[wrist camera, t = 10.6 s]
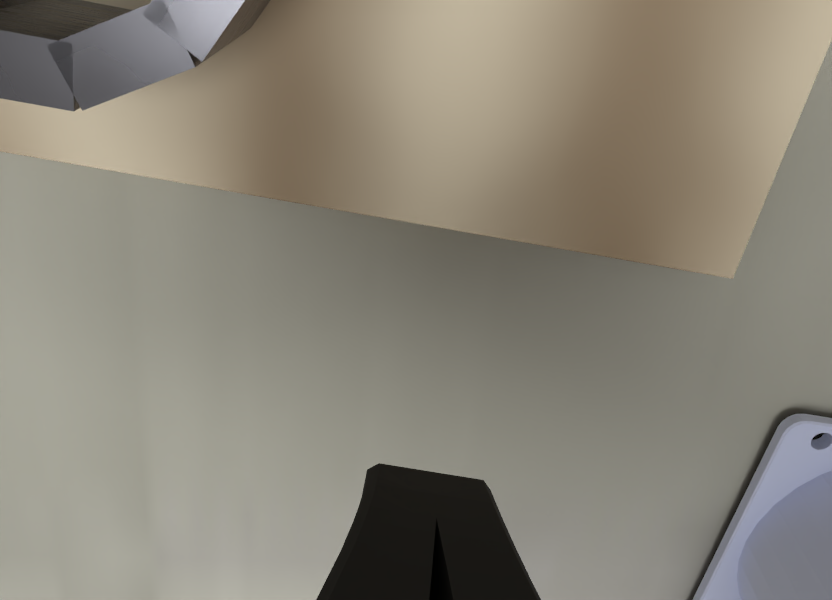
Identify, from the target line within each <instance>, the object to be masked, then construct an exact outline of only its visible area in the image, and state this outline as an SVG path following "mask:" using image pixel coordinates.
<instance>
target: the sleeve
mask: <svg viewBox="0 0 832 600" xmlns="http://www.w3.org/2000/svg"><path fill="white" fill-rule="evenodd" d="M270 1H271V0H152V1H151V3H150V4H147V5H145V6H142V7H140V8H137V9H135V10H130V9H125V8H120V7H114V6H109V5H104V4H99V3H93V2H88V1H83V0H0V98H1V99H7V100H12V101H18V102H23V103H29V104H35V105H40V106H46V107H51V108H57V109H63V110H68V111H76V110H77V109H79V108H81V109H82V111H83V110H86V109H88V108H91V107H94V106H96V105H99V104H101V103H104V102H107V101H109V100H112V99H114V98H117V97H119V96H122V95H125V94H127V93H130V92H132V91H135V90H138V89H140V88H143V87H145V86H148V85H151V84H153V83H156V82H158V81H161V80H164V79H166V78H169V77H171V76H174V75H176V74H179V73H182V72H184V71H187V70H189V69H192V68H195V67H196V66H198V65H199V64H201V63H202V62H204V61H205V60H206V59H208V58H209V57H211V56H212V55H214V54H215V53H216V52H218V51H219V50H221V49H222V48H224V47H225V46H227V45H228V44H229V43H231V42H232V41H234V40H235V39H237V38H238V37H239V36H241V35H242V34H244V33H245V32H246V31H247V30H249V29H250V28H251V27H252V26H253V24H254V23H255V22H256V20H257V19H258V17H259V16H260V15H261V13H262V12H263V10H264V9H265V8H266V6H267V5H268V3H269V2H270Z"/></svg>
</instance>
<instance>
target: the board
mask: <svg viewBox="0 0 832 600" xmlns="http://www.w3.org/2000/svg"><path fill="white" fill-rule="evenodd" d="M83 1H88V2H93V3H99V4H104V5H109V6H114V7H120V8H125V9H130V10H135V9H137V8H140V7H142V6H145V5H147V4H150V3H151V1H152V0H83ZM831 41H832V0H271V1H270V2H269V3H268V5H267V6H266V8H265V9H264V10H263V12H262V13H261V15H260V16H259V17H258V19H257V20H256V22H255V23H254V24H253V26H252V27H251V28H250V29H249V30H247V31H246V32H245V33H244V34H242V35H241V36H239V37H238V38H237V39H235V40H234V41H232V42H231V43H229V44H228V45H227V46H225V47H224V48H222V49H221V50H219V51H218V52H216V53H215V54H214V55H212V56H211V57H209V58H208V59H206V60H205V61H204V62H202V63H201V64H199V65H198V66H196V67H195V68H192V69H189V70H187V71H184V72H182V73H179V74H176V75H174V76H171V77H169V78H166V79H164V80H161V81H158V82H156V83H153V84H151V85H148V86H145V87H143V88H140V89H138V90H135V91H132V92H130V93H127V94H125V95H122V96H119V97H117V98H114V99H112V100H109V101H107V102H104V103H101V104H99V105H96V106H94V107H91V108H88V109H86V110H83V111H82V109H81V108H79V109H77V110H76V111H68V110H63V109H57V108H51V107H46V106H40V105H35V104H29V103H23V102H18V101H12V100H7V99H1V98H0V151H1V152H7V153H13V154H19V155H24V156H30V157H36V158H42V159H47V160H53V161H59V162H65V163H70V164H76V165H82V166H88V167H93V168H99V169H105V170H111V171H116V172H122V173H128V174H134V175H139V176H145V177H151V178H157V179H162V180H168V181H174V182H180V183H185V184H191V185H197V186H203V187H208V188H214V189H220V190H226V191H231V192H237V193H243V194H249V195H254V196H260V197H266V198H272V199H277V200H283V201H289V202H295V203H300V204H306V205H312V206H318V207H323V208H329V209H335V210H341V211H346V212H352V213H358V214H364V215H369V216H375V217H381V218H387V219H392V220H398V221H404V222H410V223H415V224H421V225H427V226H433V227H438V228H444V229H450V230H455V231H461V232H467V233H473V234H478V235H484V236H490V237H496V238H501V239H507V240H513V241H519V242H524V243H530V244H536V245H542V246H547V247H553V248H559V249H565V250H570V251H576V252H582V253H588V254H593V255H599V256H605V257H611V258H616V259H622V260H628V261H634V262H639V263H645V264H651V265H657V266H662V267H668V268H674V269H680V270H685V271H691V272H697V273H703V274H708V275H714V276H720V277H726V278H731V279H733V277H734V275H735V273H736V270H737V268H738V265H739V263H740V261H741V258H742V256H743V253H744V251H745V248H746V246H747V244H748V241H749V239H750V236H751V234H752V232H753V229H754V227H755V224H756V222H757V219H758V217H759V215H760V212H761V210H762V207H763V205H764V203H765V200H766V198H767V195H768V193H769V190H770V188H771V186H772V183H773V181H774V178H775V176H776V174H777V171H778V169H779V166H780V164H781V161H782V159H783V157H784V154H785V152H786V149H787V147H788V145H789V142H790V140H791V137H792V135H793V132H794V130H795V128H796V125H797V123H798V120H799V118H800V116H801V113H802V111H803V108H804V106H805V103H806V101H807V99H808V96H809V94H810V91H811V89H812V87H813V84H814V82H815V79H816V77H817V74H818V72H819V70H820V67H821V65H822V62H823V60H824V58H825V55H826V53H827V50H828V48H829V45H830V43H831Z"/></svg>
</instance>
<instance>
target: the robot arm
mask: <svg viewBox="0 0 832 600" xmlns="http://www.w3.org/2000/svg"><path fill="white" fill-rule="evenodd" d="M820 433H824V434H823V435H822V437H820V438H818V439H816V440H812V439H813V437H814V436H815V435H817V434H820ZM317 600H541V599H540V597H539V595H538V593H537V591H536V589H535V587H534V585H533V583H532V581H531V579H530V577H529V575H528V573H527V571H526V569H525V567H524V565H523V563H522V560H521V558H520V556H519V554H518V552H517V550H516V548H515V546H514V543H513V541H512V539H511V537H510V535H509V533H508V530H507V528H506V526H505V523H504V521H503V519H502V517H501V514H500V512H499V510H498V507H497V505H496V503H495V500H494V498H493V495H492V493H491V490H490V489H489V487H488V486H487V485H486V483H485V482H484V480H479V479H472V478H466V477H460V476H454V475H447V474H441V473H435V472H429V471H423V470H416V469H410V468H404V467H398V466H391V465H385V464H377V465H375V466H373V467H372V468H370V469H368V470H367V474H366V479H365V484H364V489H363V494H362V498H361V502H360V505H359V508H358V511H357V513H356V516H355V519H354V521H353V524H352V526H351V529H350V531H349V533H348V536H347V538H346V540H345V543H344V545H343V547H342V550H341V552H340V554H339V556H338V558H337V560H336V562H335V564H334V566H333V568H332V570H331V572H330V574H329V576H328V578H327V580H326V582H325V584H324V586H323V588H322V590H321V592H320V594H319V596H318V598H317ZM693 600H832V418H828V417H822V416H816V415H810V414H794V415H791V416H789V417H787V418H786V419H784V420H783V421H782V422H781V423H780V424H779V426H778V427H777V429H776V431H775V433H774V435H773V437H772V439H771V441H770V443H769V445H768V447H767V449H766V452H765V454H764V456H763V458H762V460H761V462H760V464H759V466H758V468H757V470H756V472H755V474H754V476H753V478H752V480H751V482H750V484H749V486H748V488H747V490H746V492H745V494H744V496H743V498H742V500H741V502H740V504H739V506H738V508H737V510H736V512H735V514H734V516H733V519H732V521H731V523H730V525H729V527H728V529H727V531H726V533H725V535H724V537H723V539H722V541H721V543H720V545H719V547H718V549H717V551H716V553H715V555H714V557H713V559H712V561H711V563H710V565H709V567H708V569H707V571H706V573H705V575H704V577H703V579H702V581H701V583H700V586H699V588H698V590H697V592H696V594H695V596H694V598H693Z"/></svg>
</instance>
